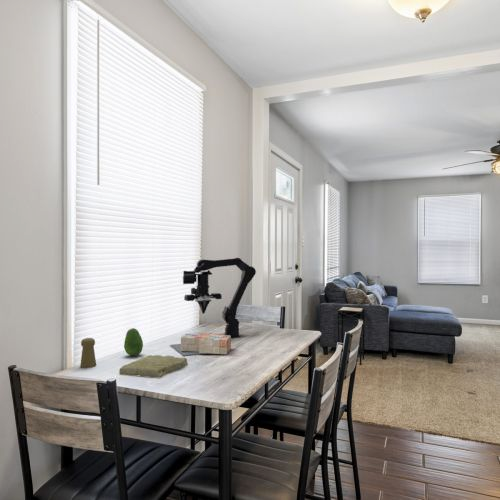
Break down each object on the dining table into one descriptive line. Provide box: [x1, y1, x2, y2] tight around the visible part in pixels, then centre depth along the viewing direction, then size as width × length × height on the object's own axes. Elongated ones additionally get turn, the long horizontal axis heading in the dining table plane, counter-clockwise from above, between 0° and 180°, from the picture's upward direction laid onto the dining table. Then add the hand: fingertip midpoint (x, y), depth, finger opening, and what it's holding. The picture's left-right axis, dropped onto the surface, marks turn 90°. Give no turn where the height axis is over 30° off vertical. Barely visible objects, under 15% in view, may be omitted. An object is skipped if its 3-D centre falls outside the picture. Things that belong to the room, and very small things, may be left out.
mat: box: [169, 343, 208, 357], centre depth 190 cm, size 12×23×1 cm, turn 25°
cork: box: [79, 337, 97, 369], centre depth 164 cm, size 6×6×11 cm
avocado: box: [123, 328, 144, 357], centre depth 179 cm, size 8×8×12 cm
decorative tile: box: [119, 354, 188, 378], centre depth 158 cm, size 19×20×4 cm
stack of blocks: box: [180, 333, 232, 355], centre depth 185 cm, size 21×6×12 cm
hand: (203, 313), depth 214 cm, fingers closed
